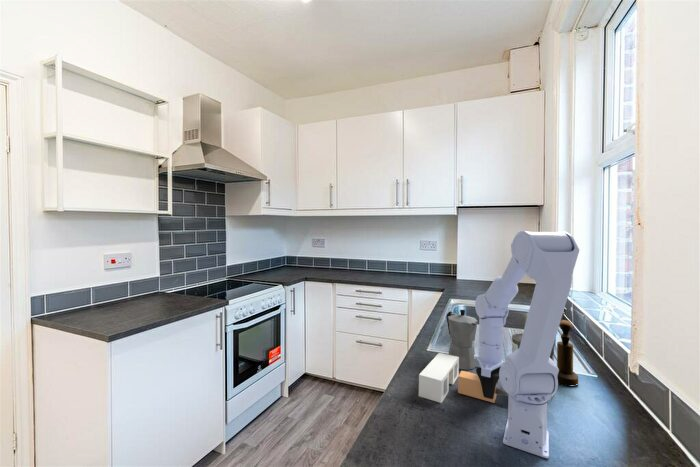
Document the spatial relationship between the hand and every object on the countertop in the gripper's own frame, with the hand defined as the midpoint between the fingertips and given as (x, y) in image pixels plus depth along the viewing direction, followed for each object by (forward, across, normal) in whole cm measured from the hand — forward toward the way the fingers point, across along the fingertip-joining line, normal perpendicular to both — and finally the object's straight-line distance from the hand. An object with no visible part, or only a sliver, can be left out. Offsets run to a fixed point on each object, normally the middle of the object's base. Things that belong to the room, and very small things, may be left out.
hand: (489, 393), depth 82 cm
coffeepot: (+2, -19, -12) cm, 23 cm away
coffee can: (+2, -12, +9) cm, 15 cm away
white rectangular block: (+1, 0, -13) cm, 13 cm away
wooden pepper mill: (+2, -23, +17) cm, 29 cm away
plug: (+1, 0, -1) cm, 2 cm away
